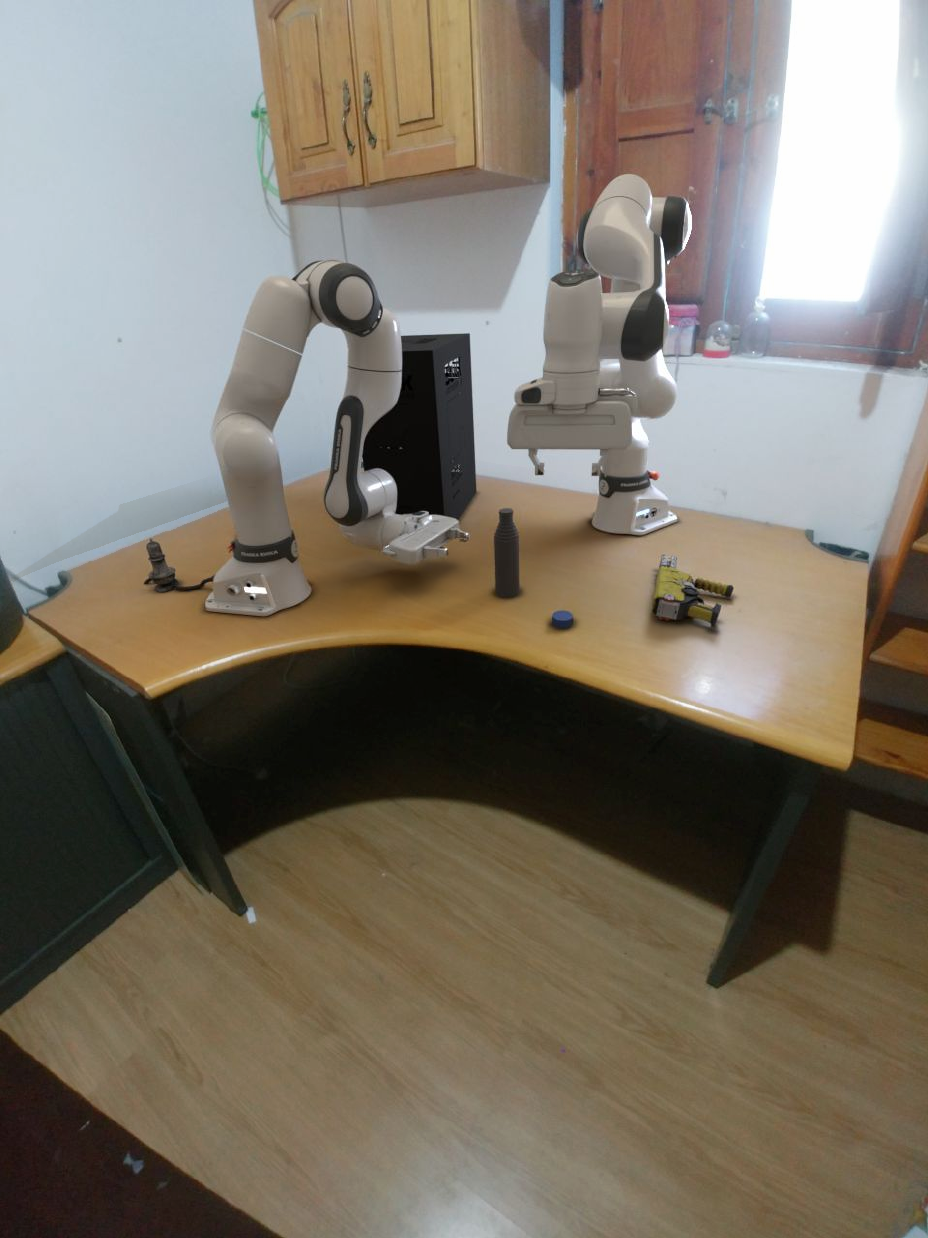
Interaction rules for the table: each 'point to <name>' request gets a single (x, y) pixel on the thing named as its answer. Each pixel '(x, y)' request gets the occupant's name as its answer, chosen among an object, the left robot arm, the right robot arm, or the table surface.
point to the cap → (562, 619)
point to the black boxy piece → (429, 428)
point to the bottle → (506, 555)
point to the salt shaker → (160, 568)
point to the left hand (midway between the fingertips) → (457, 545)
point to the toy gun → (684, 594)
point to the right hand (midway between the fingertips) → (567, 474)
